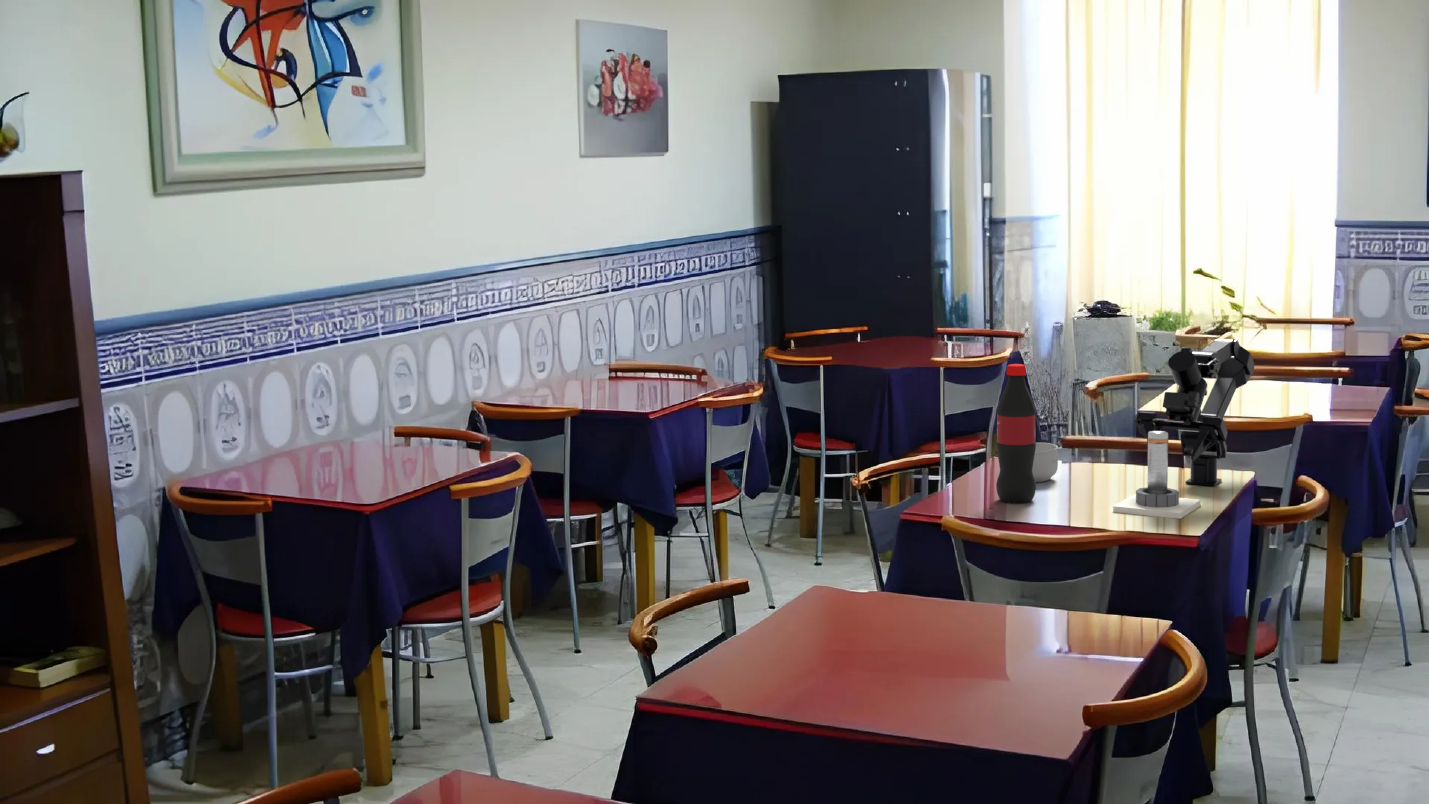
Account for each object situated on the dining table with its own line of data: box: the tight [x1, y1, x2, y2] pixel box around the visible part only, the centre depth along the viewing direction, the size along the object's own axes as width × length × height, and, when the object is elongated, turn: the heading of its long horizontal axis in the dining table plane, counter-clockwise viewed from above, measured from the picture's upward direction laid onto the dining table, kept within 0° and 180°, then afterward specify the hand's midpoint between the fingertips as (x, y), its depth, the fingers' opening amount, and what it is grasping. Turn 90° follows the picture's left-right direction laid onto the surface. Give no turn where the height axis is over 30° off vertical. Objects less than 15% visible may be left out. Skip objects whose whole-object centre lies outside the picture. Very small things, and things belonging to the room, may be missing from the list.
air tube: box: [1147, 430, 1169, 494], centre depth 304 cm, size 4×4×15 cm
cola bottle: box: [995, 363, 1037, 504], centre depth 315 cm, size 8×8×30 cm
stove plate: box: [1112, 486, 1202, 520], centre depth 305 cm, size 14×14×4 cm
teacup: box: [1032, 442, 1059, 483], centre depth 339 cm, size 14×11×8 cm
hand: (1170, 458), depth 311 cm, fingers open, 9 cm apart
